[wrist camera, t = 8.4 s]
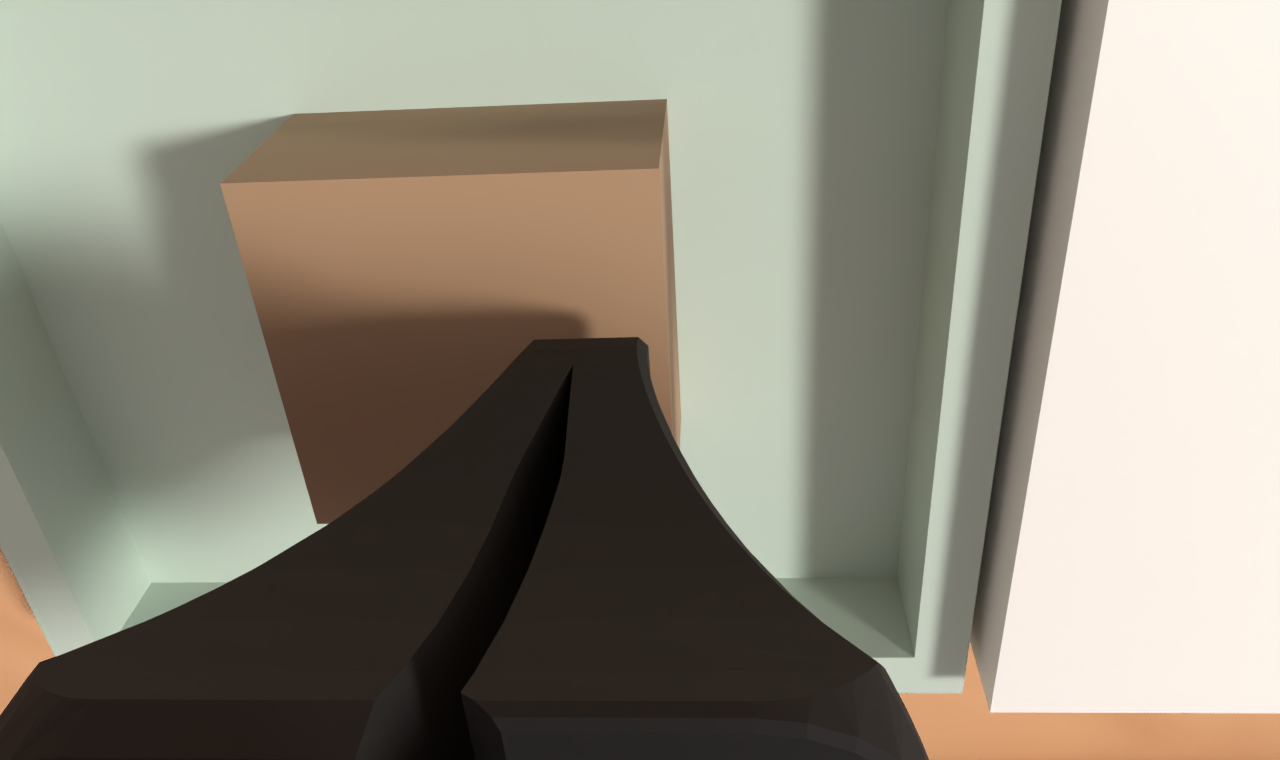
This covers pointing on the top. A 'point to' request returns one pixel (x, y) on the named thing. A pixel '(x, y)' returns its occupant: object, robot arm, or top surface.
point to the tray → (703, 259)
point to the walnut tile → (446, 265)
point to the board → (1144, 377)
